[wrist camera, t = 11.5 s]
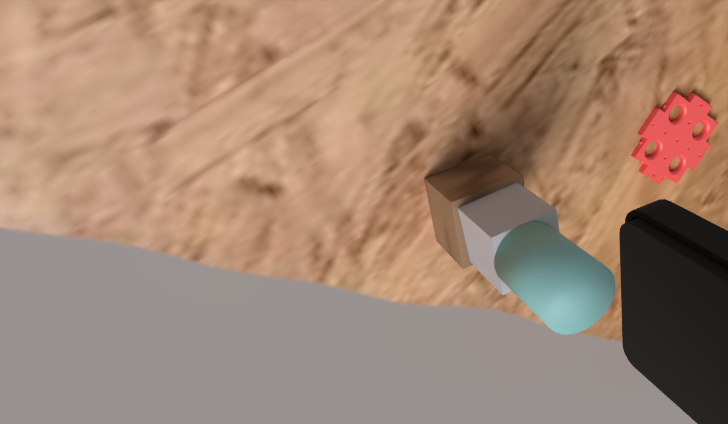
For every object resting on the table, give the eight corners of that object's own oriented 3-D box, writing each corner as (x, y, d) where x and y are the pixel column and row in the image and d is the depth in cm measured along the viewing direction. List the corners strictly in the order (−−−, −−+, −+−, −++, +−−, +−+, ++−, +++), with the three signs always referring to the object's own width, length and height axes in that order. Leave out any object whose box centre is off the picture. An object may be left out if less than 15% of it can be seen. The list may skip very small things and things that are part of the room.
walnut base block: (490, 153, 50) (523, 175, 45) (498, 216, 52) (530, 241, 48) (423, 178, 48) (450, 202, 44) (436, 240, 51) (462, 268, 47)
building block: (729, 119, 55) (677, 80, 52) (677, 193, 57) (624, 162, 54) (721, 116, 56) (670, 78, 52) (670, 190, 58) (618, 159, 54)
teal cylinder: (555, 210, 41) (613, 251, 36) (560, 269, 43) (616, 315, 38) (489, 236, 40) (540, 282, 35) (498, 295, 43) (547, 346, 37)
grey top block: (517, 182, 45) (556, 209, 41) (526, 236, 48) (564, 267, 43) (457, 208, 45) (491, 238, 40) (470, 261, 47) (503, 295, 43)
